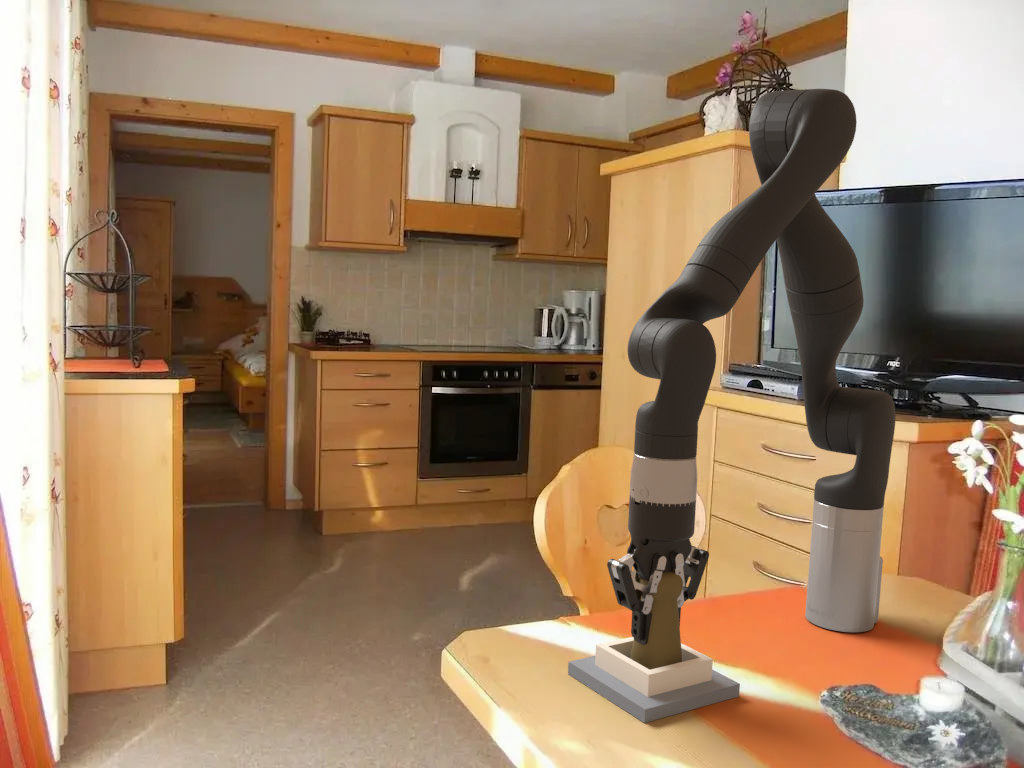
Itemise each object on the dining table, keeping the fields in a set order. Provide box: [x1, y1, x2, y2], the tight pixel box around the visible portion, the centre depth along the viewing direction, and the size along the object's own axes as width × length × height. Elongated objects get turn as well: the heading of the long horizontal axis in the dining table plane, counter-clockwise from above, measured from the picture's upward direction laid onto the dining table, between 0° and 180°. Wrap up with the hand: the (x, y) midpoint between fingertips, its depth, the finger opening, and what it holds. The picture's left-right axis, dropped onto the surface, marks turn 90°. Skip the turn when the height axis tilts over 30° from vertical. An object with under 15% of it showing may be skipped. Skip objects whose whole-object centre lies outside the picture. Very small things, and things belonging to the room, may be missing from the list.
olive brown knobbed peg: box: [630, 572, 683, 670], centre depth 107 cm, size 6×6×11 cm
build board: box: [567, 636, 741, 724], centre depth 108 cm, size 14×14×4 cm
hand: (655, 638), depth 107 cm, fingers closed on olive brown knobbed peg, 3 cm apart
